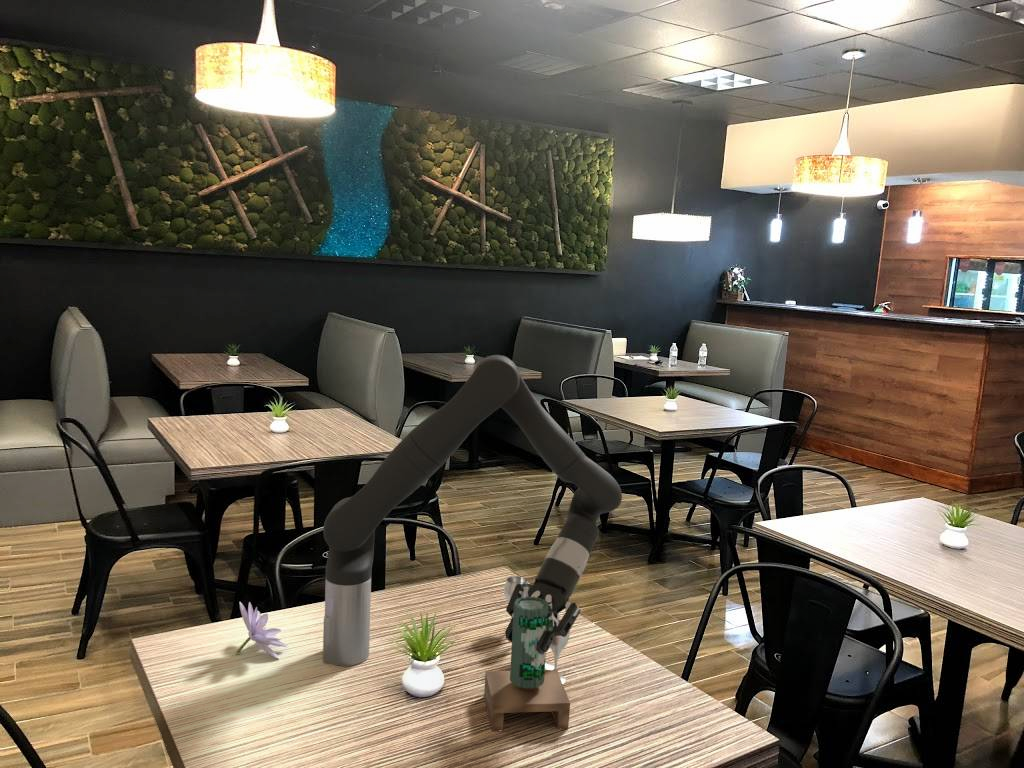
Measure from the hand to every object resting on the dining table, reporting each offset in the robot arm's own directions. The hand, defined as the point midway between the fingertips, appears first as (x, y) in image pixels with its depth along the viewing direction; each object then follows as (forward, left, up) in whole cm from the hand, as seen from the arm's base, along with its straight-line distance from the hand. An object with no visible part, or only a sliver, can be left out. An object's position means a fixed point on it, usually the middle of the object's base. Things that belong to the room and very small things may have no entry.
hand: (523, 645), depth 147 cm
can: (+1, +1, -8) cm, 8 cm away
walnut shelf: (+1, +1, -14) cm, 14 cm away
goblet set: (+7, +24, -14) cm, 28 cm away
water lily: (-50, +26, -14) cm, 58 cm away
